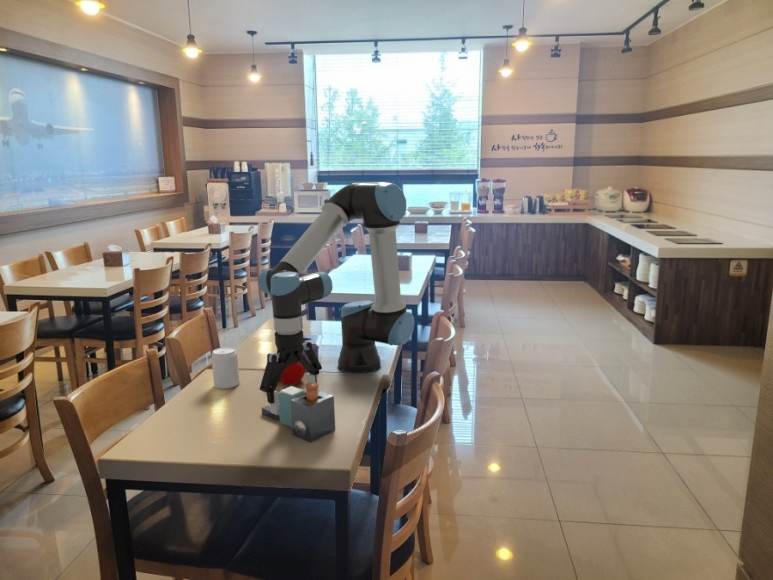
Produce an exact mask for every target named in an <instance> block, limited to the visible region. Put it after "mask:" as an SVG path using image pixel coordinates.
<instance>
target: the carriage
mask: <svg viewBox="0 0 773 580" xmlns="http://www.w3.org/2000/svg"><path fill="white" fill-rule="evenodd" d="M304 394H306V390H305V391H304V389H302V388H298V387H295V386H293V385H290V386H289V387H286V388H284V389H281V390H280V391H278V405H279V417H280V422H279V423H280V424H283V425H285V426H288V427H290V428H292V415H291V400H292V399H295V398H297V397H299V396H302V395H304Z"/></svg>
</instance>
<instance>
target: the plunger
mask: <svg viewBox="0 0 773 580" xmlns="http://www.w3.org/2000/svg"><path fill="white" fill-rule="evenodd" d="M304 387H305V392H306V394H307V401H310V402H314V401H316V400H318V390H319V383H318V382H317V383H308V384H307V383H306V384H305V386H304Z"/></svg>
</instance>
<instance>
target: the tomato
mask: <svg viewBox="0 0 773 580" xmlns="http://www.w3.org/2000/svg"><path fill="white" fill-rule="evenodd" d="M281 364H282V365H284V364H283V363H282V362H281ZM305 373H306V369H305V368H304V367H303V366H302V365H301V364H300V363H299V362H298V363H294V364H292V365H290V366H288V367H287V369H285V370H284V372H283V375H282V377H281V379H280V381H279V383H282V384H284V385H290V386H293V385H297V384H299V383H300V382H301V381H302V379H303V378H304V375H305Z"/></svg>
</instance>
